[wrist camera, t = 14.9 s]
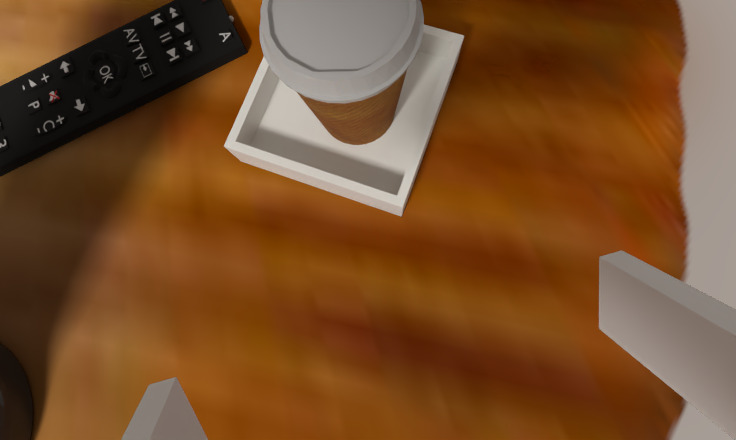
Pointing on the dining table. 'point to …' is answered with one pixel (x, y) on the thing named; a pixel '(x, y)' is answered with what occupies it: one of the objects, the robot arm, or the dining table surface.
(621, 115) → the dining table surface
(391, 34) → the disposable coffee cup
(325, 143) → the tray
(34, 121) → the remote control
